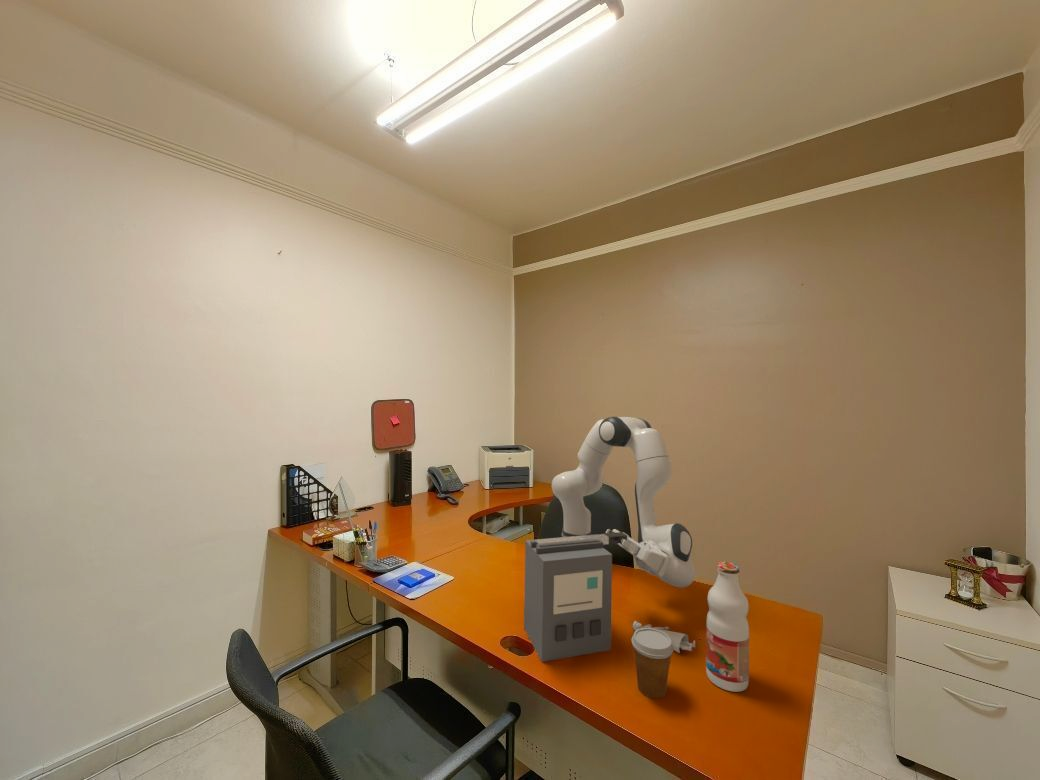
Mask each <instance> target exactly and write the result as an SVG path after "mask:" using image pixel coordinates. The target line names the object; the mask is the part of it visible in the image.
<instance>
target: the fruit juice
mask: <svg viewBox="0 0 1040 780" xmlns="http://www.w3.org/2000/svg"><path fill="white" fill-rule="evenodd" d="M716 571H717V577H716V580H715V582H714V584H713V585H712V586H711V588H709V590H708V593H707V605H708V609H709V610H708V612H707V615H706V623H705V625H706V626H705V627H706V630H705V631H706V635H705V636H706V637H705V639H706V641H705V645H706V646H705V647H706V648H705V651H706V652H705V655H706V657H705V669H706V671H705V672H706V675H707V676H706V677H707V678H708V679H709V681H710V682H711V683H712V684H714V685H715V686H716V687H719V688H720V689H722V690H725V691H728V692H733V693H734V692H735V693H739V692H743V691H746V690H747V689H748V686H749V682H750V679H749V678H750V666H749V665H750V627H749V626H750V625H749V621H748V619H747V616H748V612H749V608H750V606H749V601H748V598H747V596H746V595H745V593H744V592H743V590H742V589H741V586H740V583H739V574H740V567H739V565H737V564H735V563H733V562H728V561H720V562H717V563H716Z"/></svg>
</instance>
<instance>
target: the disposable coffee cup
mask: <svg viewBox="0 0 1040 780" xmlns="http://www.w3.org/2000/svg"><path fill="white" fill-rule="evenodd" d="M652 628H653V627H652ZM652 628H641V629H638V630H636V631H635V630H634V632H633V635H632V637H631V640H630V641H631V644H632V647H633V652H634V653H633V654H634V662H635V671H636V680H637V688H638V690H639V691H640V693H641V694H642V695H644V696H646V697H648V698H650V699H662V698H663V697H665V695H666V692H667V687H668V686H667V685H668V678H669V673H670V671H669V670H670V665H671V657H672V654H673V653H674V650H673V649H674V648H673V644H672V642H671V639H670V638H669V636H668V635H666V634H665V633H663V632H661V631H659V630H656V629H652Z"/></svg>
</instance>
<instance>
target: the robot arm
mask: <svg viewBox="0 0 1040 780" xmlns="http://www.w3.org/2000/svg"><path fill="white" fill-rule="evenodd" d="M614 447H617V448H618V447H621V448H630V449H631V450H632V451H633V455H634V459H635V463H636V470H637V476H636V482H635V484H634V497H635V506H636V507H635V508H636V516H637V525H638V527H637V528H638V530H637V532H638V533H637V541H636V540H635V539H633V538H632V537H630V536H629V540H628V541H627V540H625V539H622V540H621V542H620V543H618V544H617V545H618V546H619V547H620V548H622V549H624V550H625V551H626V552H628V553H629V554H631V556H633V558H634V560H635V563H636V566H637V567H638V568H639V569H641V570H643V571H645V572H647V573H648V574H650V575H652V576H656V577H658V579H660V580H661V581H662V582H665V583H667V584H669V585H671V586H673V587H675V588H676V587H677V588H681V589H683V588H687V587H689V586H690V585H691V584H692V583H693V582H694V581H695V578H696V575H697V574H696V569H695V566H694V565H693V562H692V558H691V556H692V555H691V551H692V548H693V538H692V536H691V533H690V532H689V530H688V529H687V528H686V527H685V526H684V525H683V524H681V523H677V522H675V523H668V524H663V525H657V522H656V514H655V506H654V499H655V496H656V494H657V493H658V491H660V489H662V488H663V487H664V486H665V485H666V484H667V483H668V482H669V480H670V479H671V476H672V474H673V473H672V472H673V471H672V463H671V460H670V456H669V452H668V449H667V447H666V445H665V442H664V439H663V437H662V435H661V433H660V432H659V431H658V430H657V429H656V428H652V426H651V424H650V423H649V422H648V421H646V420H645V419H643V418H641V417H633V416H611V417H610V416H609V417H606V418H602V419H599V420H597V421H596V422H595V423H594V425H593V426H592V428H590V430H589V432H588V434H587V435H586V437H585V439H584V441H583V442H582V445H581V446H580V448H579V451H578V452H577V459H578V462H579V464H578V466H577V468H576V469H574V470H568V471H564V472H563V471H562V472H561V473H559V474H557V475H555V476H554V477H553V478H552V481H551V491H552V493H553V494H554V496H555V497H556V498H557V499H559V502H560V503H561V507H562V513H563V527H562V530H561V537H570V536H582V535H593V534H592V533H593V532H592V530H591V528H592V527H591V526H592V525H591V524H592V519H591V518H592V513H591V511H590V510H589V509H588V507H586V505H585V502H584V497H586V496H589V495H590V496H591V495H593V494H595V493H596V492H598V491H599V490H600V489H601V488H602V487H603V476H602V471H603V467H604V465H605V464H606V462H607V460H608V458H609V456H610V454H611V452H612V450H613V449H614ZM617 532H621V531H619V530H618V529H616V528H614V529H612V530H611V529H610V528H608V529H606V531H605V534H606V533H617Z"/></svg>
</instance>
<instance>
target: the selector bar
mask: <svg viewBox="0 0 1040 780" xmlns="http://www.w3.org/2000/svg"><path fill="white" fill-rule="evenodd" d="M629 537H630V536H629V534H627V533H625V532H624V531H622V532H621V531H620V532H617V533H606V532H605V533H601V534H600V533H599V534H597V533H596V534H592V535H585V536H574V537H562V538H559V537H550V538H551V539H547V538H538V539H539V540H536V539H535V540H536V548H537V547H548V546H559V545H570V544H580V543H591V542H603V546H604V545H605V546H606V545H618V543H620V542H621V540H622V539H625V540H627V541H628V540H629Z"/></svg>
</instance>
